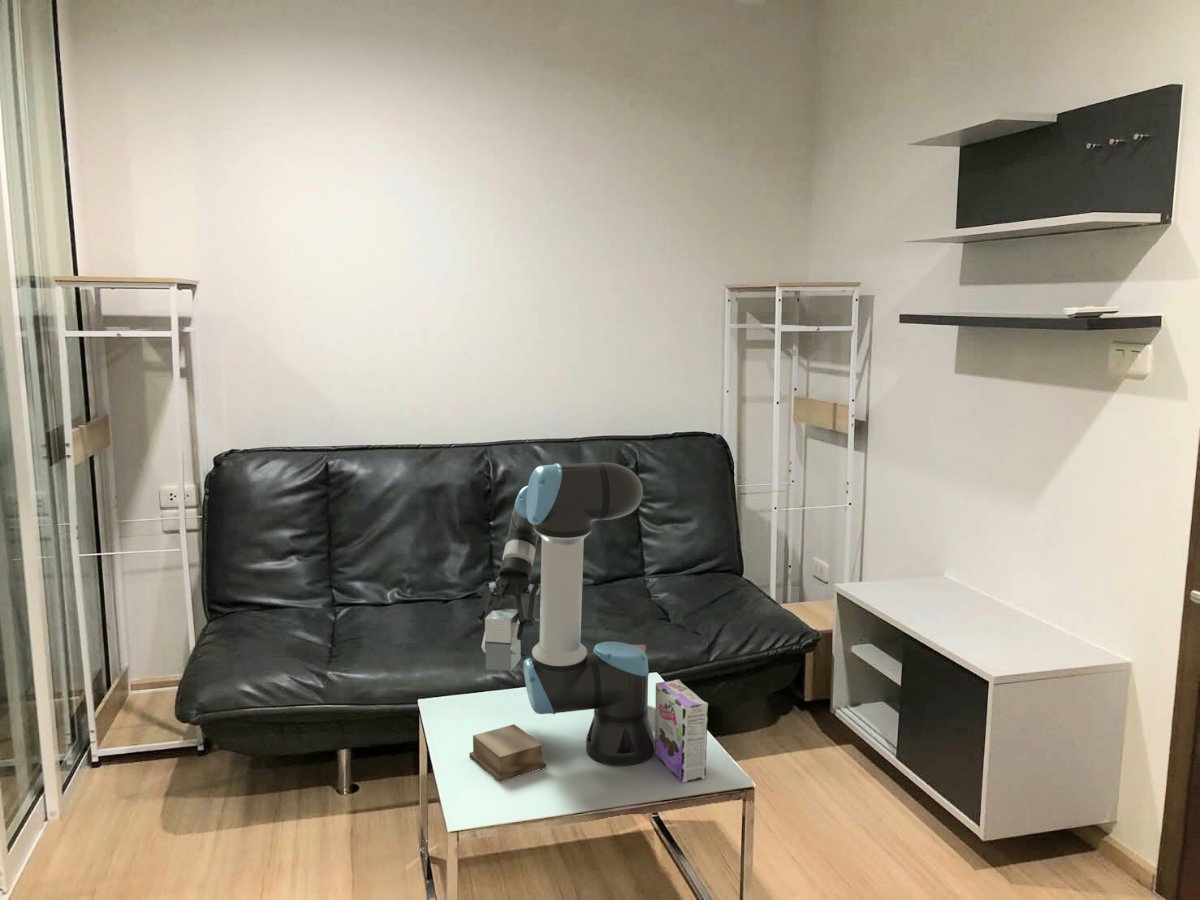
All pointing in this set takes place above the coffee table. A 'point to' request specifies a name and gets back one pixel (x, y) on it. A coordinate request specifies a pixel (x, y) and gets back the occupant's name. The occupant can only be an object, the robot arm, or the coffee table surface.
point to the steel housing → (501, 639)
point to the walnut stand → (507, 752)
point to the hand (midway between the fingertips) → (498, 650)
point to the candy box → (681, 730)
